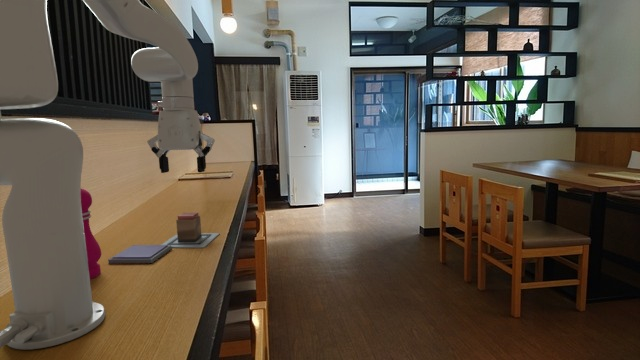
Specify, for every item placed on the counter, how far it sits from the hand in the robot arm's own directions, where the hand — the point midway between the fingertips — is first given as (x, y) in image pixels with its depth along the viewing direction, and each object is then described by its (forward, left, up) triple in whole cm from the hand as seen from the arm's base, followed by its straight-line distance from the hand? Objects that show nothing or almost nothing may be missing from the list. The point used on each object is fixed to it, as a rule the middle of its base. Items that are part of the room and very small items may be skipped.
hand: (183, 172), depth 98 cm
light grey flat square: (0, 0, -19) cm, 19 cm away
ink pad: (-12, +7, -19) cm, 23 cm away
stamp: (0, 0, -18) cm, 18 cm away
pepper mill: (-24, +13, -19) cm, 33 cm away
